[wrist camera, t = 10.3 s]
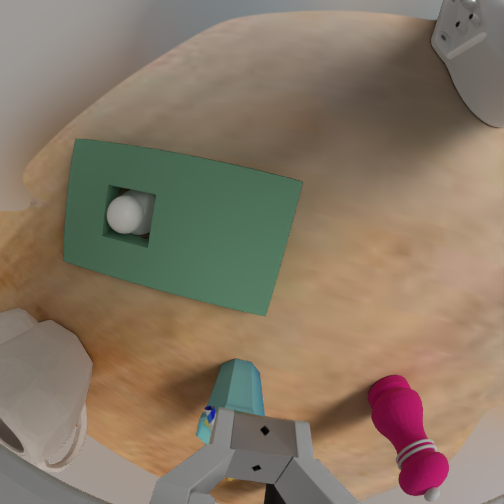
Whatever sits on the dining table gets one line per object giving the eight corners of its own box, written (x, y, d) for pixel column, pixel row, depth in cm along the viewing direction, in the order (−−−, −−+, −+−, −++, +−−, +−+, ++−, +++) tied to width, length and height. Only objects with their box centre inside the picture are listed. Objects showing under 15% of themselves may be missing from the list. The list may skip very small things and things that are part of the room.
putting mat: (89, 139, 29) (75, 138, 27) (299, 180, 30) (302, 182, 27) (76, 253, 33) (63, 261, 31) (265, 303, 34) (265, 316, 31)
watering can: (48, 249, 33) (-57, 307, 15) (137, 406, 40) (94, 501, 22) (-5, 280, 35) (-84, 330, 17) (73, 411, 42) (27, 483, 24)
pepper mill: (399, 406, 39) (442, 506, 19) (358, 408, 39) (391, 521, 19) (416, 370, 37) (476, 474, 17) (373, 372, 37) (423, 490, 17)
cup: (195, 325, 35) (160, 415, 21) (260, 319, 35) (257, 413, 20) (219, 407, 39) (204, 494, 25) (274, 404, 38) (276, 493, 24)
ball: (132, 191, 32) (102, 191, 28) (154, 199, 30) (122, 200, 26) (127, 225, 33) (98, 228, 29) (148, 236, 31) (117, 241, 28)
